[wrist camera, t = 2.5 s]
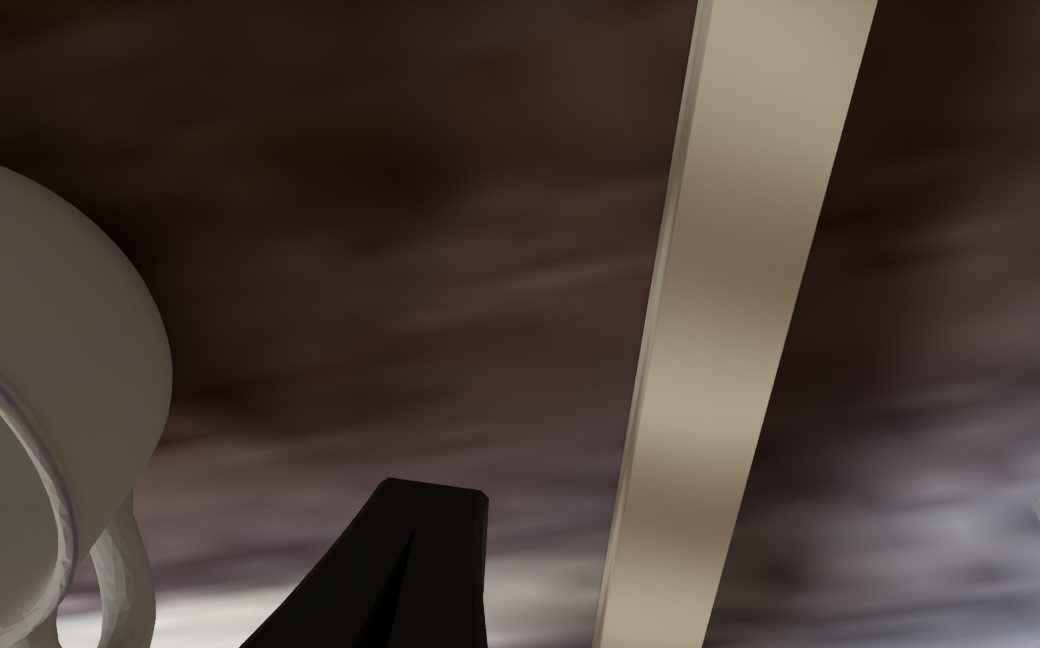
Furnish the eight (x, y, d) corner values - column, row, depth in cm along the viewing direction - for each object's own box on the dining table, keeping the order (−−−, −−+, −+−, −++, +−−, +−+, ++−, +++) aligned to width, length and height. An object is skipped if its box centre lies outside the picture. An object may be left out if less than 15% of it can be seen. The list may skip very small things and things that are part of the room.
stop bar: (653, 722, 30) (652, 826, 27) (580, 710, 30) (572, 812, 27) (861, -130, 16) (906, -105, 13) (721, -142, 16) (734, -119, 13)
